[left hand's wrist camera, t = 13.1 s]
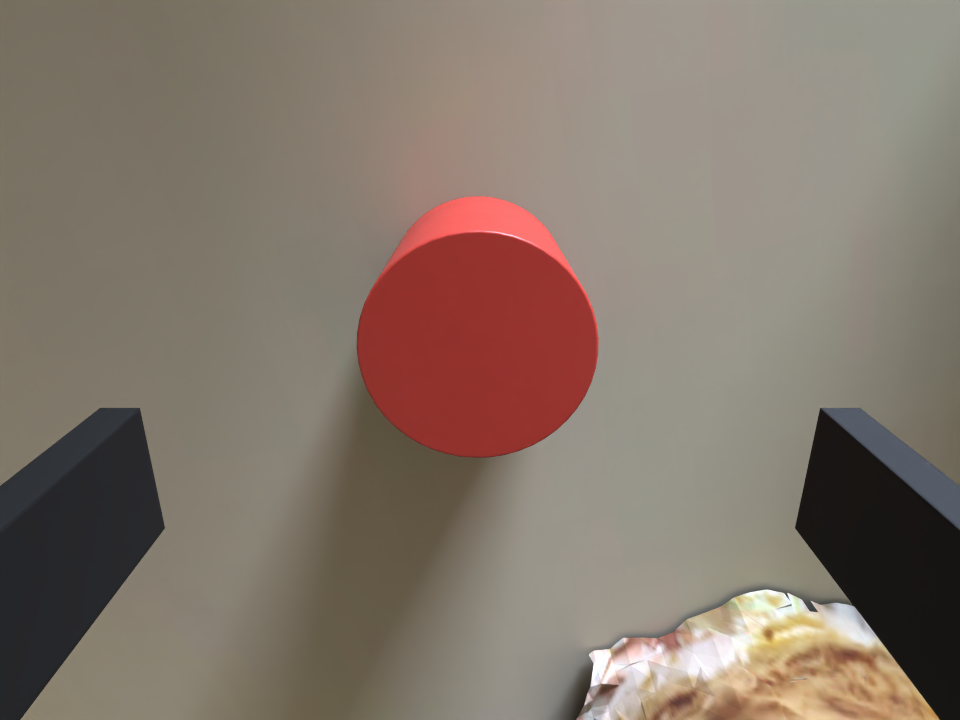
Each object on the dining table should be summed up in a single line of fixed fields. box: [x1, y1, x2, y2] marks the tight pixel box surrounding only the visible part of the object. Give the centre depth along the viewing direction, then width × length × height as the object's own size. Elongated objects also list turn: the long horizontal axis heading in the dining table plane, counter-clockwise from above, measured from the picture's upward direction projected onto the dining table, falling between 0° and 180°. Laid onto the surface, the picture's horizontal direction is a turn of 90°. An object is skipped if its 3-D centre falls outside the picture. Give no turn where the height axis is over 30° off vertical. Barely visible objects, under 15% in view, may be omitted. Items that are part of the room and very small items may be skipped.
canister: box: [357, 197, 598, 458], centre depth 23 cm, size 7×7×8 cm
